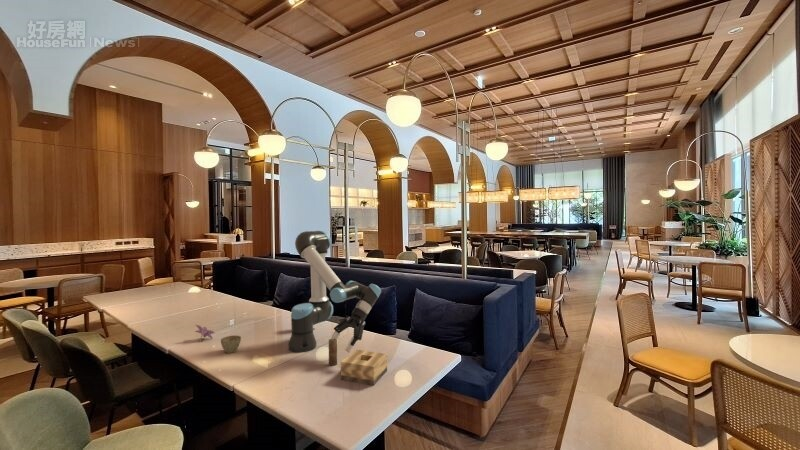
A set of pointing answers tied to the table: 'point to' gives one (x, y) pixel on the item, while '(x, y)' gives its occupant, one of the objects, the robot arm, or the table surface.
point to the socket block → (364, 367)
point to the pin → (332, 352)
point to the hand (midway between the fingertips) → (338, 347)
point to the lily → (204, 331)
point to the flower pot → (230, 343)
